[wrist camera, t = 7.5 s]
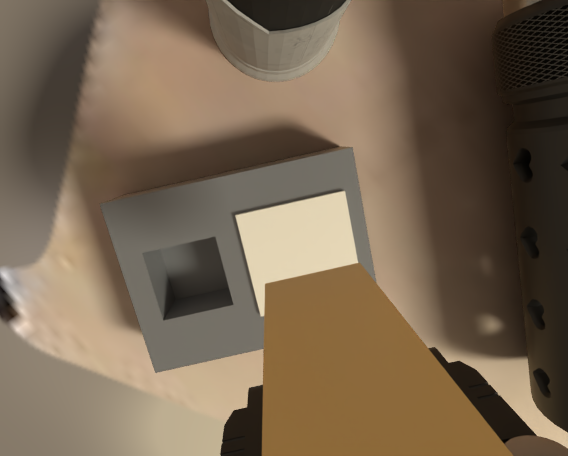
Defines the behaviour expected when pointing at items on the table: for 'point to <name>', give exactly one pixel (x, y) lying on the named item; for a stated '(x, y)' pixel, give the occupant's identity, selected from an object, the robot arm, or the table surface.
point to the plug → (357, 377)
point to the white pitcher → (275, 34)
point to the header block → (232, 249)
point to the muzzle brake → (539, 183)
